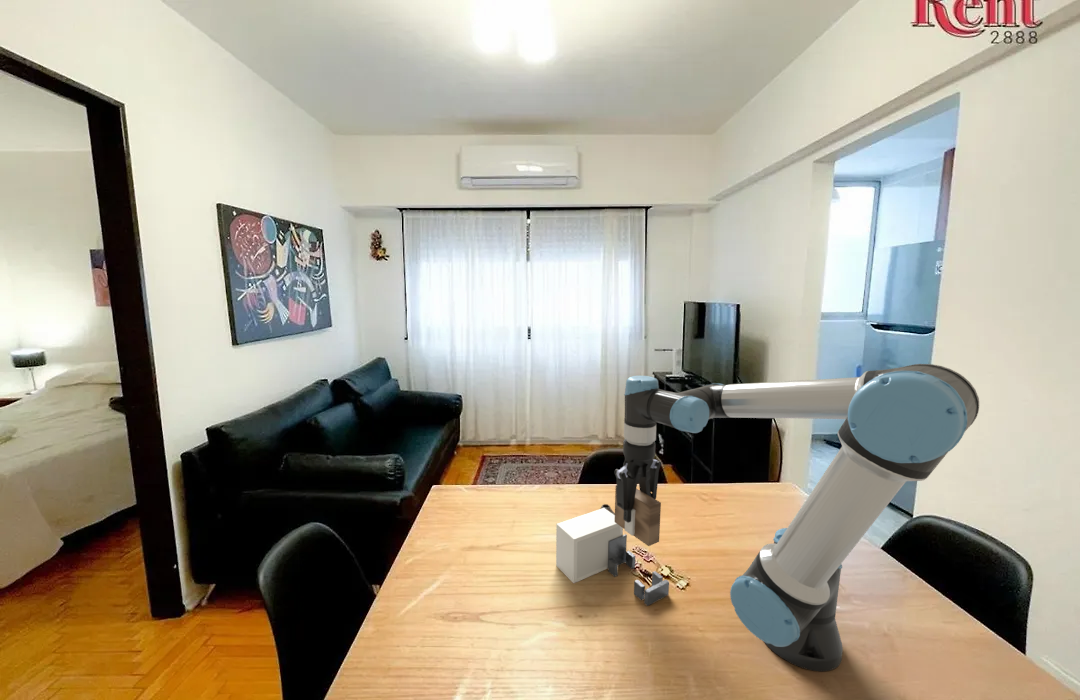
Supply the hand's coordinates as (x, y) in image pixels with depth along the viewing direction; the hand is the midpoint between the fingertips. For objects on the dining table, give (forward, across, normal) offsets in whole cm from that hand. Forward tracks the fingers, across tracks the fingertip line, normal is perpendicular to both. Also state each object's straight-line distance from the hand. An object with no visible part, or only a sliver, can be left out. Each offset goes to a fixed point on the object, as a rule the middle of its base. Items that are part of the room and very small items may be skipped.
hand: (635, 529), depth 103 cm
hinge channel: (+14, 0, 0) cm, 14 cm away
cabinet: (+14, +6, -11) cm, 19 cm away
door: (0, 0, 0) cm, 0 cm away
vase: (+14, -7, -20) cm, 25 cm away
